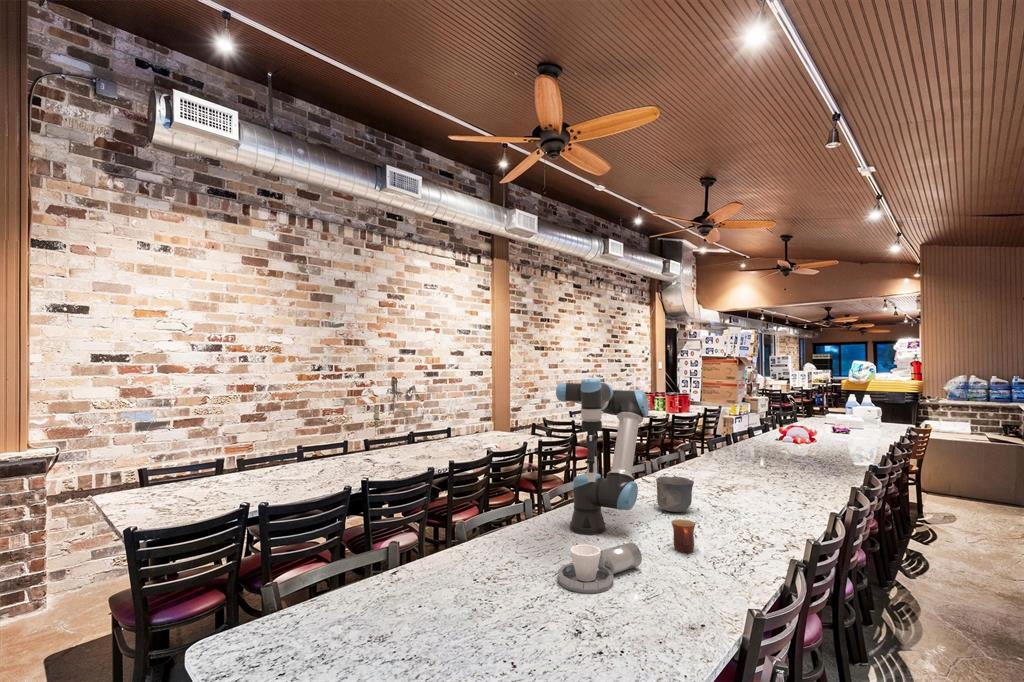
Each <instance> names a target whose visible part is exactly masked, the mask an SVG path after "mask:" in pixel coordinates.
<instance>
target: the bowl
mask: <svg viewBox="0 0 1024 682" xmlns="http://www.w3.org/2000/svg"><path fill="white" fill-rule="evenodd" d="M655 481H656V503H657V505H658V506H659V507H660V508H661V509H663V510H664V511H666V512H673V513H681V512H685V511H686V510H688V509H689V508H690V506H691V504H692V499H693V495H692V494H693V487H694V484H695V481H694V480H692V479H690V478H688V477H683V476H676V475H675V476H668V475H667V476H663V475H662V476H659V477H657V478H656V479H655Z"/></svg>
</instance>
